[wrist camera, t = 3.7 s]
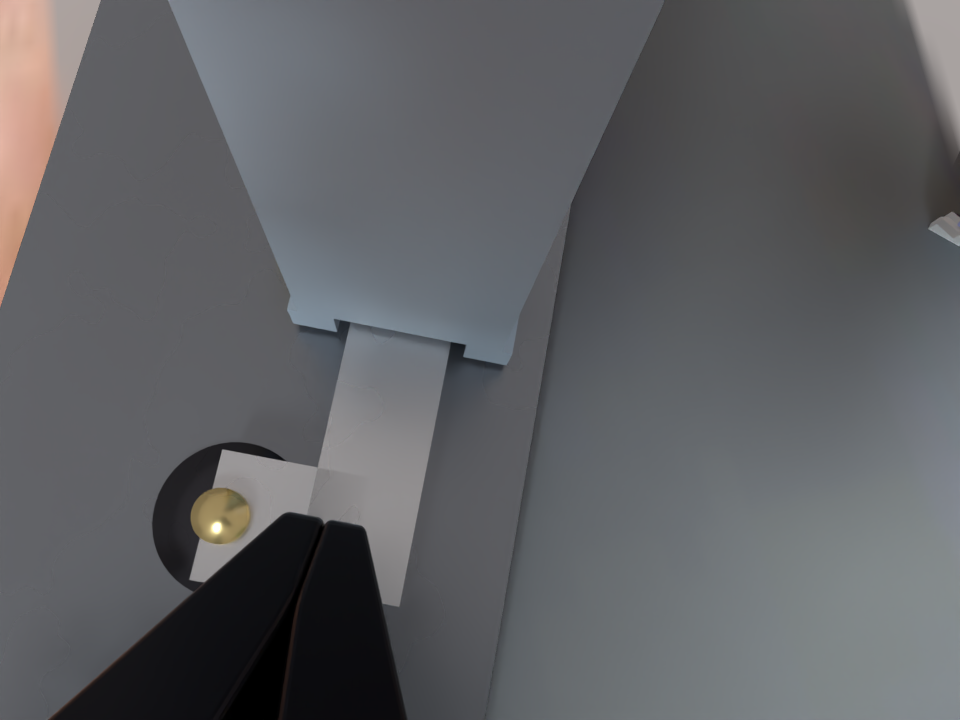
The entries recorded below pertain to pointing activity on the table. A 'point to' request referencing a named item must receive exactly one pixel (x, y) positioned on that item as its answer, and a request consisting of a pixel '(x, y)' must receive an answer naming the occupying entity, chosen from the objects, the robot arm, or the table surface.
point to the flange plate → (226, 404)
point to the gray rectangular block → (414, 145)
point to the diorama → (947, 227)
